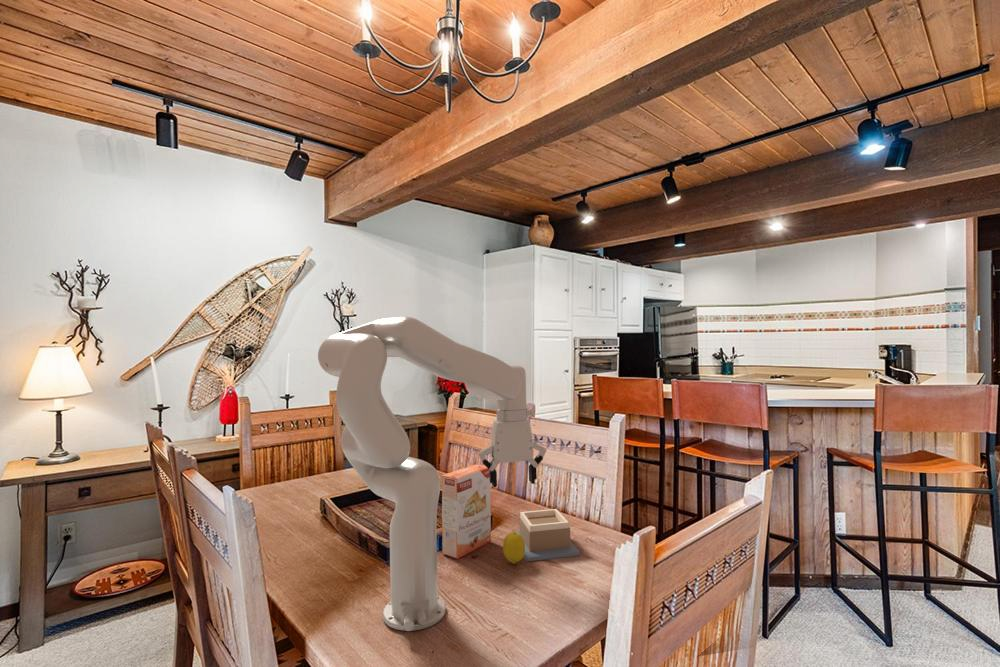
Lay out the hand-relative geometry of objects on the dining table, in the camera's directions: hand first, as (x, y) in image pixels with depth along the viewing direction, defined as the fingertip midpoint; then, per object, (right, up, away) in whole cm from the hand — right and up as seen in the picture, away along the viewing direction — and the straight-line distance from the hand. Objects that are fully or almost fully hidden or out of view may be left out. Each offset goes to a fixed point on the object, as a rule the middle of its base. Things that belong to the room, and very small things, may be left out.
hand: (513, 484), depth 123 cm
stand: (+9, -20, +11) cm, 24 cm away
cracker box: (-12, -20, +9) cm, 25 cm away
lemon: (0, -20, 0) cm, 20 cm away
